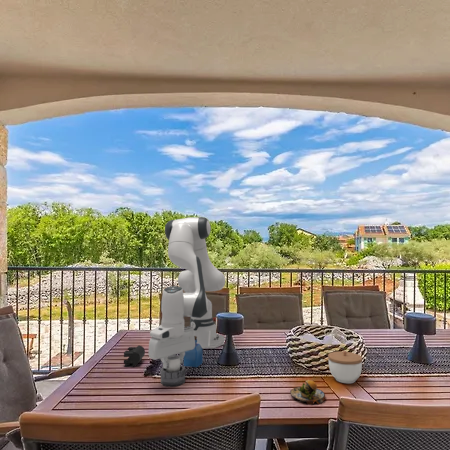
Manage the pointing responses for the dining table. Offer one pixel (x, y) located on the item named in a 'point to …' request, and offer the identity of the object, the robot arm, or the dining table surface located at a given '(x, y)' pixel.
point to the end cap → (134, 356)
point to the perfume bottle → (194, 356)
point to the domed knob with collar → (173, 377)
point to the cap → (173, 363)
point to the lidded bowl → (345, 366)
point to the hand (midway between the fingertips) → (172, 365)
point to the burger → (308, 393)
